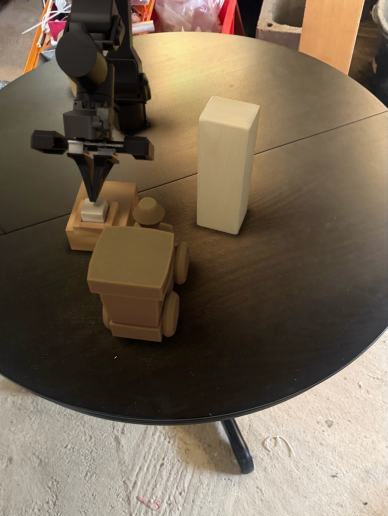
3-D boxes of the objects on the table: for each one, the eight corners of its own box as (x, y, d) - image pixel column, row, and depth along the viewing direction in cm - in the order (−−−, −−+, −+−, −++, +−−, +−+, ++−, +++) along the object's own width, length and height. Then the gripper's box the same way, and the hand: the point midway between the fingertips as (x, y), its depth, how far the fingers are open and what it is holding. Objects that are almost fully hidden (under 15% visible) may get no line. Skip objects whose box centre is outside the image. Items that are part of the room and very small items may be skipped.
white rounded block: (87, 207, 81) (85, 198, 79) (108, 208, 81) (106, 199, 79) (83, 222, 79) (80, 213, 77) (104, 223, 79) (102, 214, 77)
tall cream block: (249, 208, 89) (262, 101, 71) (238, 235, 86) (249, 129, 68) (208, 199, 91) (211, 92, 73) (196, 225, 87) (196, 119, 69)
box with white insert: (87, 199, 91) (80, 170, 85) (139, 202, 90) (135, 174, 85) (70, 252, 84) (61, 225, 78) (126, 256, 83) (121, 229, 78)
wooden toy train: (173, 356, 72) (168, 288, 58) (101, 347, 73) (78, 278, 59) (193, 258, 83) (192, 180, 69) (129, 251, 84) (115, 173, 70)
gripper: (13, 78, 67) (15, 194, 70) (144, 85, 66) (139, 202, 69) (44, 100, 77) (44, 199, 81) (157, 106, 76) (152, 207, 80)
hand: (92, 202), depth 78 cm, fingers closed
